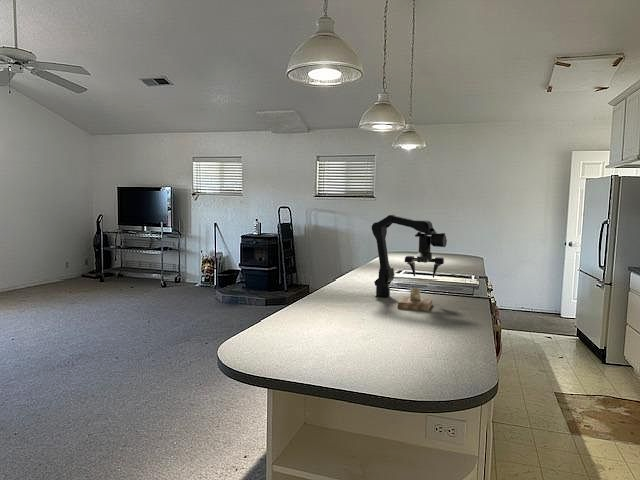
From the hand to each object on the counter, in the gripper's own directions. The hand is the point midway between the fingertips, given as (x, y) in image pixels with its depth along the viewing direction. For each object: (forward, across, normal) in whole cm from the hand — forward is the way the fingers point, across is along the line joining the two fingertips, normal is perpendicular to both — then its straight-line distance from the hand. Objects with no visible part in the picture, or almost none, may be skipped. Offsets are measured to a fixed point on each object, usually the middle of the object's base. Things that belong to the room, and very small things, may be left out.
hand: (423, 277), depth 225 cm
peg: (+12, -2, -12) cm, 17 cm away
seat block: (+12, -2, -12) cm, 17 cm away
